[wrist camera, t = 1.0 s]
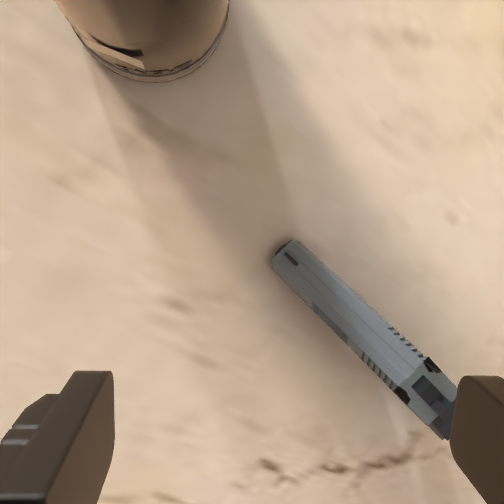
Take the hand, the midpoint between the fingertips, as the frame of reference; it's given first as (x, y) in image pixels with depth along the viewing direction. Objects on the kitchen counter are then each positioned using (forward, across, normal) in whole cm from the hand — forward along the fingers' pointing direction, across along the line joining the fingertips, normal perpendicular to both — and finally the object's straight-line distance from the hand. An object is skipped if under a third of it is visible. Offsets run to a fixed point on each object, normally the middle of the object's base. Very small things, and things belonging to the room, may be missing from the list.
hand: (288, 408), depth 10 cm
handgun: (+20, -8, +6) cm, 22 cm away
